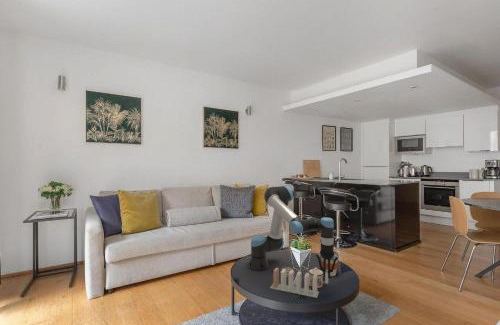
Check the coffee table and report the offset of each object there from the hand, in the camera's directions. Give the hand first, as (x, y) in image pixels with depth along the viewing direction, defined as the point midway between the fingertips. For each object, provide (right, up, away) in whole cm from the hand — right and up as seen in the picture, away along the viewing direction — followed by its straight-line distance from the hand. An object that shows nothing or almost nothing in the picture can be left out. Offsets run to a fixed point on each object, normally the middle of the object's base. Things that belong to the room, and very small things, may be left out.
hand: (326, 282), depth 160 cm
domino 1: (-29, -8, +13) cm, 33 cm away
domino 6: (-6, -8, +3) cm, 11 cm away
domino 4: (-16, -8, +7) cm, 19 cm away
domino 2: (-25, -8, +11) cm, 28 cm away
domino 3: (-20, -8, +9) cm, 24 cm away
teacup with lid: (-1, -9, +15) cm, 17 cm away
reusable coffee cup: (+12, -9, +33) cm, 36 cm away
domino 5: (-11, -8, +5) cm, 15 cm away
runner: (-18, -9, +8) cm, 22 cm away
